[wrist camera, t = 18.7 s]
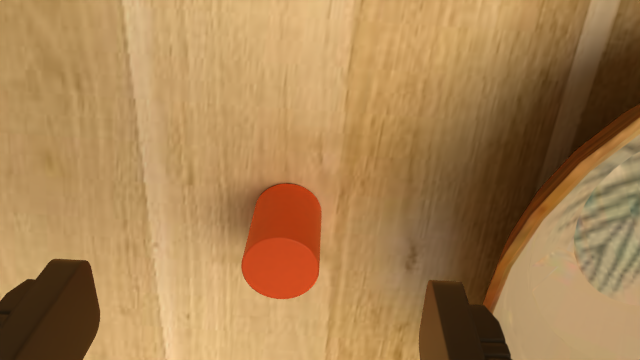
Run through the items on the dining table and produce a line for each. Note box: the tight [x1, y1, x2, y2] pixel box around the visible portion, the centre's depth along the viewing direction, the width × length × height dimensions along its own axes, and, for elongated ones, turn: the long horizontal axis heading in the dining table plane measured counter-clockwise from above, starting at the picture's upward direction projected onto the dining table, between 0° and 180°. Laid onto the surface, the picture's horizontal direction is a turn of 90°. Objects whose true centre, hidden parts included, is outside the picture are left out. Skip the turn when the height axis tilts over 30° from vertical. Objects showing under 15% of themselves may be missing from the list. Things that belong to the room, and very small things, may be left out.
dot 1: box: [242, 184, 321, 299], centre depth 27 cm, size 4×4×5 cm
